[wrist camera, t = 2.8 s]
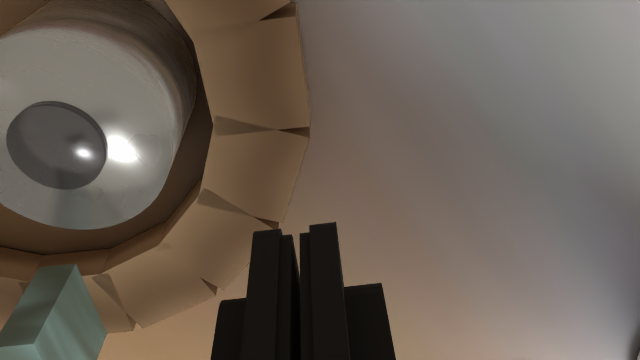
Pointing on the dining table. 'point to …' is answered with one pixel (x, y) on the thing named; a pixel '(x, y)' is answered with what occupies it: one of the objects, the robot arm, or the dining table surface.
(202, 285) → the ring
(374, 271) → the dining table surface
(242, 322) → the robot arm
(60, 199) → the cover
